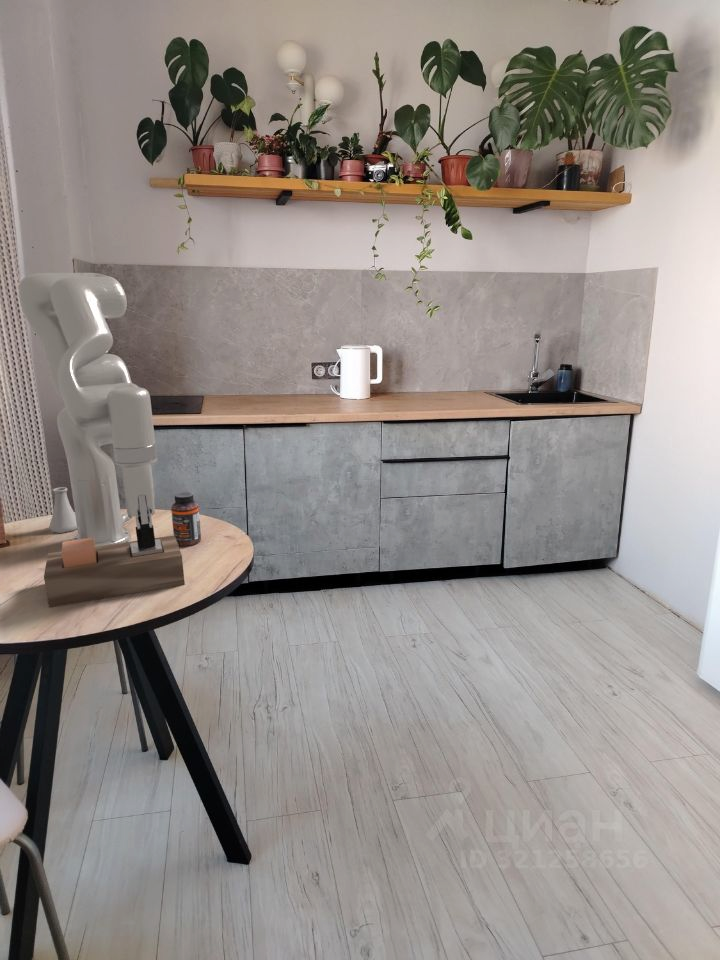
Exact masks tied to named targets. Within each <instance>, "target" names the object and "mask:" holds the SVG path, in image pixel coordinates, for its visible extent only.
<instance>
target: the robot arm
mask: <svg viewBox="0 0 720 960" xmlns="http://www.w3.org/2000/svg"><path fill="white" fill-rule="evenodd" d="M18 297H19V303H20V306H21V309H22V313H23V315H24V318H26V320H27V323H28V324H29V326H30V328H31V329H32V331H33V332H34V334H35V336H36V337H37V339H38V340H39V343H40V344H41V347H42V350H43V355H44V357H45V361H46V365H47V368H48V372H49V375H50V378H51V382H52V385H53V387H54V390H55V392H56V394H57V395H58V396H59V398H60V399H62V400H63V403H64V404H63V405H64V407H63V408H62V409H61V410H60V411H59V412H58V414H57V417H56V422H57V423H56V425H57V429H58V432H59V436H60V439H61V442H62V446H63V448H64V452H65V457H66V460H67V467H68V474H69V480H70V482H69V483H70V486H71V495H72V500H73V509H74V513H75V516H76V523H77V529H76V531H77V534H76V535H74V537H72V538H71V541H73V540H80V539H87V538H94V540H95V547H96V546H103V545H110V544H117V543H124V542H129V540H130V539H131V536H132V535H131V534H132V533H131V531H130V530H129V529H127V528H126V527H125V526H124V525H125V524H126V523H127V522H129V521H130V520H131V519H133V517H135V523H136V526H135V535H136V541H137V543H138V548H139V549H142V548H148V547H154V546H155V538H156V536H155V531H154V524H153V522H152V516H154V515H155V513H156V506H155V505H156V504H155V492H154V491H155V487H154V479H153V470H152V469H153V468H152V464H153V463H156V462H157V461H158V454H157V453H158V452H157V445H156V438H155V437H156V436H155V428H154V419H153V412H152V403H151V402H152V401H151V396H150V392H149V391H148V390H147V389H146V388H144V387H139V386H138V385H137V384H135V383H133V382H132V379H131V376H130V375H131V374H130V373H129V369H128V367H127V365H126V363H125V362H124V361H123V359H122V358H121V357H120V356H119V355H116V354H113V353H108V352H109V351H110V350H111V349H112V346H113V343H114V339H113V335H112V332H111V330H110V328H109V325H108V323H107V321H106V319H119V318H122V317H123V316H124V315H125V313H126V310H127V307H128V304H127V303H128V302H127V295H126V292H125V290H124V288H123V286H122V284H121V283H120V282H119V281H118V280H117V279H116V278H114V277H113V276H109V275H105V274H102V273H99V272H98V273H97V272H40V273H39V272H38V273H33V274H29V275H26V276H25V277H23V278H22V279H21V280H20V283H19V286H18ZM108 444H112V447H113V449H112V450H113V454H114V461H113V459H112V458H111V456H110V455H108V454H107V453H106V452H105V451H103V450H102V448H101V446H104V445H108ZM115 465H116V466H117V467H118V466H119V467H121V476H122V485H123V492H124V500H125V508H126V512H124V513H123V514H122V512H121V505H120V496H119V488H118V487H119V486H118V481H117V474H116V473H117V472H116V467H115Z"/></svg>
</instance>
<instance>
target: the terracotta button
mask: <svg viewBox="0 0 720 960" xmlns="http://www.w3.org/2000/svg"><path fill="white" fill-rule="evenodd" d="M61 551H62V558H63V564H64V568H66V567H73V566H79V565H86V564H93V563H98V562H97V554H96V547H95V540H94V538H87V539H80V540H73V541H72V540H67V541H66V540H65V541H62V544H61Z"/></svg>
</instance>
